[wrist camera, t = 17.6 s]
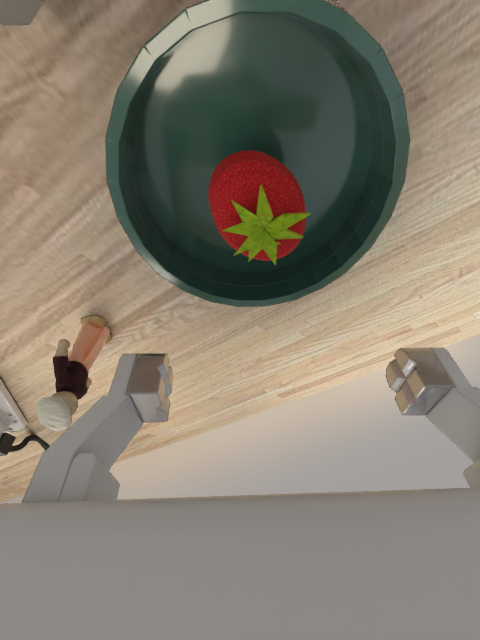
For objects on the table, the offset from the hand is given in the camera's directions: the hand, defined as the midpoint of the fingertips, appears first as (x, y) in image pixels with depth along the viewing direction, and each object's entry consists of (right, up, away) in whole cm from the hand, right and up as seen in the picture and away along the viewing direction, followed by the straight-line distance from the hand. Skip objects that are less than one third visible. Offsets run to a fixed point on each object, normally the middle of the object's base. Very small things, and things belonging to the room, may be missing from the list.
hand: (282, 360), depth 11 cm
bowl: (0, +13, +13) cm, 19 cm away
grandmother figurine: (-19, +1, +25) cm, 31 cm away
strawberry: (0, +13, +13) cm, 18 cm away
